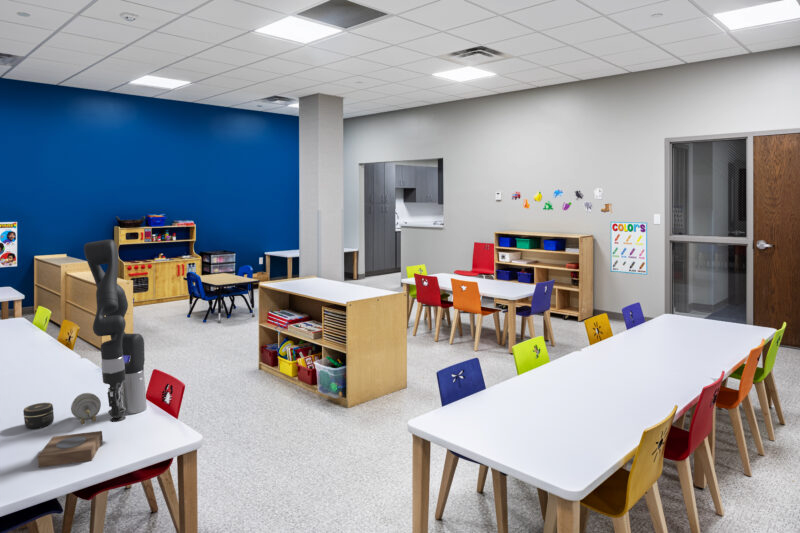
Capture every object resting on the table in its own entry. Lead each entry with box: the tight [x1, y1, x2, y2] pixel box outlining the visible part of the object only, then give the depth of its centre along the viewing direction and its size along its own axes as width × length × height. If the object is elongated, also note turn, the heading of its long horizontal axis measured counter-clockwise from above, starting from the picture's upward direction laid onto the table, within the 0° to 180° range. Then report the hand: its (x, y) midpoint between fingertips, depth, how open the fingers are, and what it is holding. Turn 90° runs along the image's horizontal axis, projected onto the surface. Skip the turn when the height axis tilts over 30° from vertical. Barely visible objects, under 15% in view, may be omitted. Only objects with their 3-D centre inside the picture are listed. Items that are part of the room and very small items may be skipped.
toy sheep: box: [70, 392, 102, 425], centre depth 222 cm, size 11×17×11 cm, turn 39°
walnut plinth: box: [37, 430, 104, 468], centre depth 193 cm, size 16×16×4 cm
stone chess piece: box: [107, 396, 127, 423], centre depth 204 cm, size 6×6×12 cm
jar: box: [22, 402, 55, 430], centre depth 218 cm, size 10×10×8 cm
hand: (117, 412), depth 204 cm, fingers closed on stone chess piece, 6 cm apart
